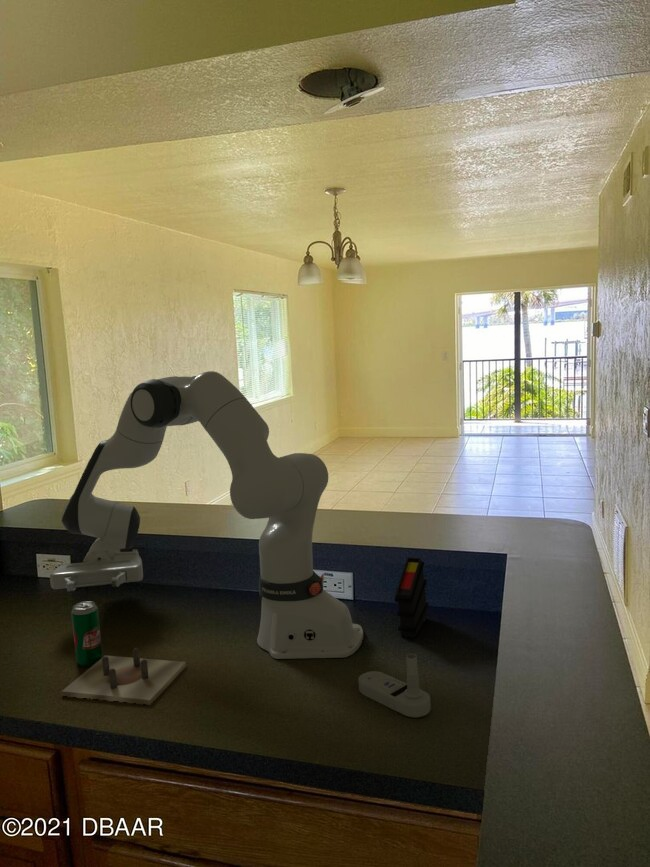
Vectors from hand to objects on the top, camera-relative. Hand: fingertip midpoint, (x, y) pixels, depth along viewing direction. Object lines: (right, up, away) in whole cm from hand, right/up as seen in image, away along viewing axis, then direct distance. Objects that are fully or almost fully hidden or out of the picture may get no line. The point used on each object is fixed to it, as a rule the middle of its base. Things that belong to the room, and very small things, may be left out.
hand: (92, 585), depth 143 cm
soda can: (+3, -13, -11) cm, 17 cm away
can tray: (+13, -14, -19) cm, 27 cm away
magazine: (+70, -9, -3) cm, 71 cm away
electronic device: (+63, -13, -30) cm, 71 cm away
